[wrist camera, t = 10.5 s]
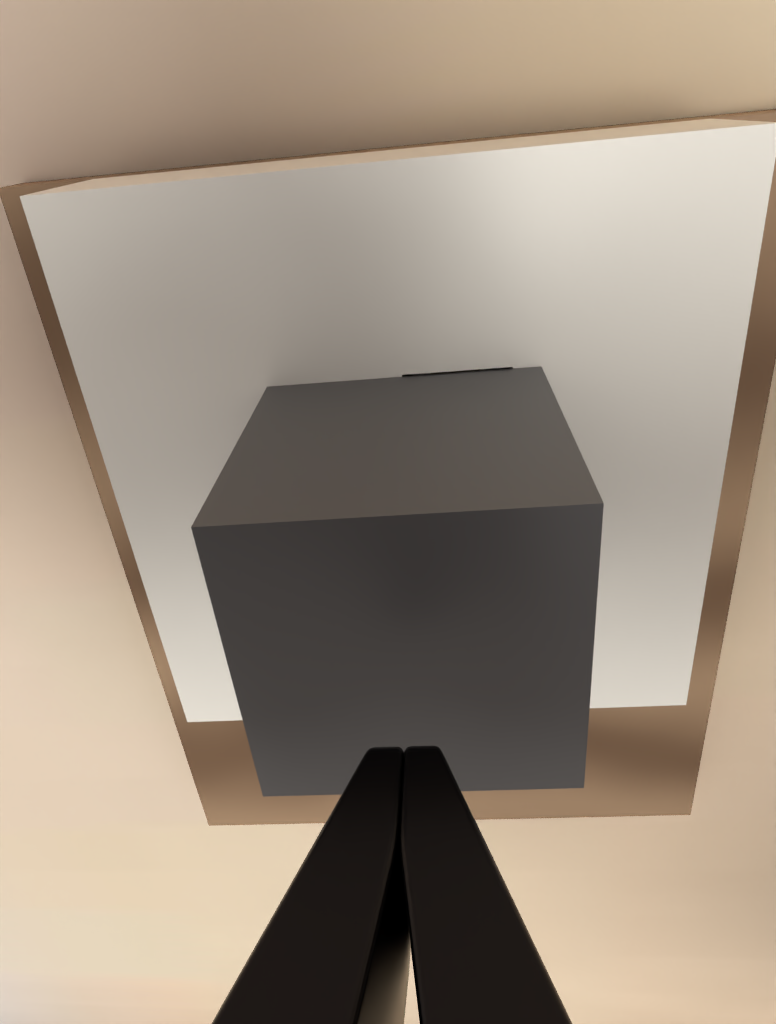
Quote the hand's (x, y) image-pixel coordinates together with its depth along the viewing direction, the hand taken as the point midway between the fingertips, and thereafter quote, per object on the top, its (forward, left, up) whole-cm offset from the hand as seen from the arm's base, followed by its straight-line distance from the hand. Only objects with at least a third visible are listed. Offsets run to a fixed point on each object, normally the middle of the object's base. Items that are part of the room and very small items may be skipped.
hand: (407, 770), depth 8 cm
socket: (0, 0, -10) cm, 10 cm away
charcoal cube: (0, 0, -8) cm, 8 cm away
